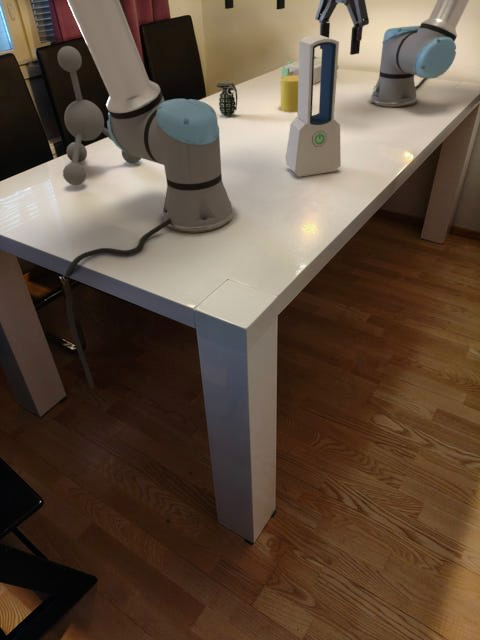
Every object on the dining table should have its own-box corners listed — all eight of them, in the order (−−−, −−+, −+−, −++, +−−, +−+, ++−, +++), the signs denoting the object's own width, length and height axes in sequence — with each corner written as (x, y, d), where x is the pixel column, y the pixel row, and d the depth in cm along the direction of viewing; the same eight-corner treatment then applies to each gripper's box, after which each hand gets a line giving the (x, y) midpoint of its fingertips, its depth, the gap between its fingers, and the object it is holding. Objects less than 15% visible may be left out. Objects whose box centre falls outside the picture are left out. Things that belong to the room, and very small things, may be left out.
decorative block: (304, 54, 217) (345, 57, 207) (303, 70, 221) (343, 73, 211) (272, 65, 201) (315, 69, 191) (272, 82, 205) (314, 86, 195)
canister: (305, 111, 169) (306, 80, 163) (279, 111, 170) (279, 81, 164) (305, 104, 176) (306, 75, 170) (281, 105, 177) (281, 75, 171)
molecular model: (153, 175, 128) (132, 46, 109) (67, 191, 122) (30, 58, 104) (135, 149, 145) (114, 34, 127) (59, 162, 140) (26, 43, 121)
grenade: (217, 117, 168) (214, 86, 162) (221, 112, 172) (219, 82, 166) (235, 117, 166) (233, 86, 160) (239, 113, 171) (238, 82, 165)
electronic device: (294, 177, 122) (297, 41, 104) (284, 167, 128) (285, 37, 109) (340, 170, 124) (351, 36, 106) (328, 161, 130) (337, 32, 112)
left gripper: (315, -118, 98) (310, 7, 111) (211, -107, 108) (217, 6, 121) (300, -121, 93) (296, 10, 106) (192, -109, 103) (201, 9, 116)
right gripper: (304, -38, 137) (303, 47, 150) (366, -38, 119) (358, 58, 132) (326, -40, 140) (322, 44, 153) (388, -41, 122) (378, 54, 135)
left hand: (254, 8), depth 114 cm, fingers open, 13 cm apart
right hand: (338, 51), depth 143 cm, fingers open, 13 cm apart
